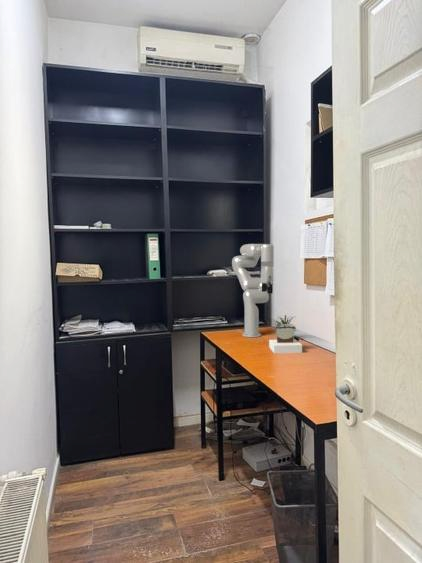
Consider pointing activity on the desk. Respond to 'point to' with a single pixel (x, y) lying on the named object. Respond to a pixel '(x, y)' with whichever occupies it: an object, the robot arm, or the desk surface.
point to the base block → (285, 347)
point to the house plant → (283, 320)
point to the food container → (285, 333)
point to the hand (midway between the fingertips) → (267, 292)
